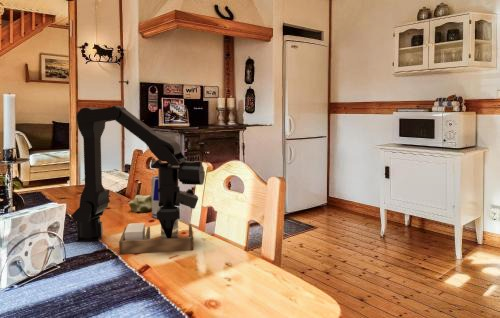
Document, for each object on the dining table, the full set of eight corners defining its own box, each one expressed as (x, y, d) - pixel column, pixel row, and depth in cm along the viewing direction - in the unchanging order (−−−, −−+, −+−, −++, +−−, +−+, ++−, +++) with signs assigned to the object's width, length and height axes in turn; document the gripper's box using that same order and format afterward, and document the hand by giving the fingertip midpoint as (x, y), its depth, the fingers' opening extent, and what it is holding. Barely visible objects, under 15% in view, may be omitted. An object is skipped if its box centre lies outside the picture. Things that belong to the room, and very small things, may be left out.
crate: (119, 254, 111) (119, 241, 110) (125, 238, 125) (125, 227, 124) (193, 249, 114) (193, 237, 114) (191, 234, 128) (191, 224, 128)
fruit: (158, 212, 161) (159, 193, 159) (141, 220, 153) (142, 200, 151) (141, 205, 165) (142, 187, 163) (124, 212, 158) (124, 193, 155)
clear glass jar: (160, 244, 118) (160, 223, 117) (161, 238, 123) (161, 219, 122) (178, 243, 118) (178, 223, 118) (178, 237, 123) (178, 218, 123)
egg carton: (125, 251, 113) (124, 232, 113) (128, 241, 122) (128, 223, 122) (142, 250, 114) (142, 231, 114) (145, 240, 123) (144, 222, 122)
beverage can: (162, 219, 147) (161, 178, 145) (149, 218, 148) (148, 177, 146) (168, 215, 152) (167, 175, 150) (155, 214, 153) (154, 175, 151)
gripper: (197, 189, 111) (198, 244, 113) (195, 177, 129) (195, 225, 131) (156, 190, 109) (157, 246, 111) (159, 178, 127) (160, 227, 129)
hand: (169, 235), depth 120 cm, fingers closed on clear glass jar, 5 cm apart
